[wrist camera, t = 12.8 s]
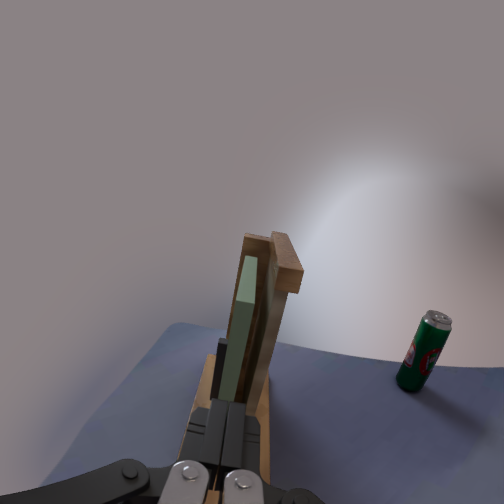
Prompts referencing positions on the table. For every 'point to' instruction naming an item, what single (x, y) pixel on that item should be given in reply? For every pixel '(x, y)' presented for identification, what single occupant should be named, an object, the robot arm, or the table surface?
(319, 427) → the table surface
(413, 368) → the soda can
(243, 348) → the door
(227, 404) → the robot arm
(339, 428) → the table surface
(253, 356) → the door frame
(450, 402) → the table surface
